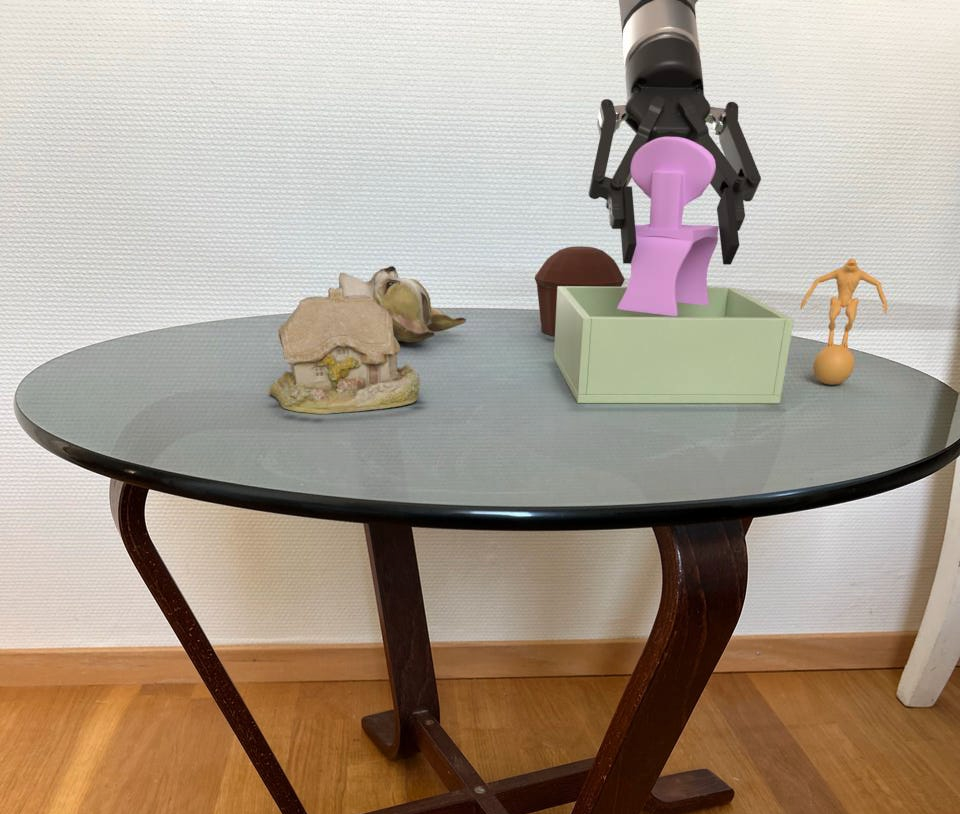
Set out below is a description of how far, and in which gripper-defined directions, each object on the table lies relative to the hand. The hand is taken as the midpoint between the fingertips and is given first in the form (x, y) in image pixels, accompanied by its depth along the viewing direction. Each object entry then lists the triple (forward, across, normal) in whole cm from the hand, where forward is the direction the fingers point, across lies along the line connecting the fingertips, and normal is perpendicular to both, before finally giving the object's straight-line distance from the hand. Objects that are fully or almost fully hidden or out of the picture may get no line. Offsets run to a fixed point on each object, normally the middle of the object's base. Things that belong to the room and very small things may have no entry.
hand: (680, 254), depth 89 cm
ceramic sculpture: (-8, +28, -26) cm, 39 cm away
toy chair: (+2, 0, -6) cm, 6 cm away
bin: (+6, 0, -12) cm, 13 cm away
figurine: (+7, -18, -11) cm, 22 cm away
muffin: (-12, +5, -30) cm, 33 cm away
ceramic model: (+12, +32, -6) cm, 35 cm away
